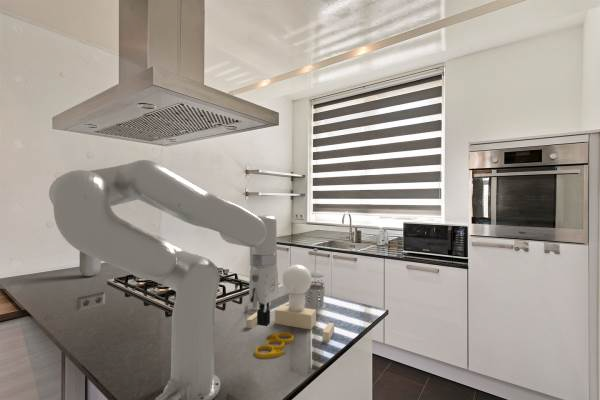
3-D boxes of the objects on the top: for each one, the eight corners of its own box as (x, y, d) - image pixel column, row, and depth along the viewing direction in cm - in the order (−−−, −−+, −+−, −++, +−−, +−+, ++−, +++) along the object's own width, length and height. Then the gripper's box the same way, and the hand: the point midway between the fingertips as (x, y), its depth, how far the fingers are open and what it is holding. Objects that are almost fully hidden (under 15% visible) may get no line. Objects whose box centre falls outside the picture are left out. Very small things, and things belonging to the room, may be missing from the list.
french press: (318, 301, 136) (319, 246, 136) (332, 309, 126) (333, 250, 126) (299, 304, 132) (300, 247, 132) (312, 312, 121) (313, 251, 122)
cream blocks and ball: (328, 341, 96) (329, 275, 96) (246, 327, 106) (247, 267, 106) (339, 322, 112) (339, 265, 112) (266, 311, 121) (267, 259, 122)
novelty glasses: (302, 340, 97) (277, 333, 103) (302, 336, 97) (277, 329, 103) (272, 364, 83) (245, 354, 88) (272, 358, 83) (245, 349, 89)
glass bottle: (84, 274, 177) (85, 227, 177) (103, 273, 179) (104, 227, 179) (75, 278, 167) (77, 228, 167) (96, 277, 170) (97, 228, 170)
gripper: (263, 266, 76) (263, 338, 76) (285, 255, 90) (285, 316, 90) (237, 264, 78) (238, 334, 78) (263, 253, 92) (263, 313, 92)
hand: (263, 324), depth 84 cm, fingers closed
